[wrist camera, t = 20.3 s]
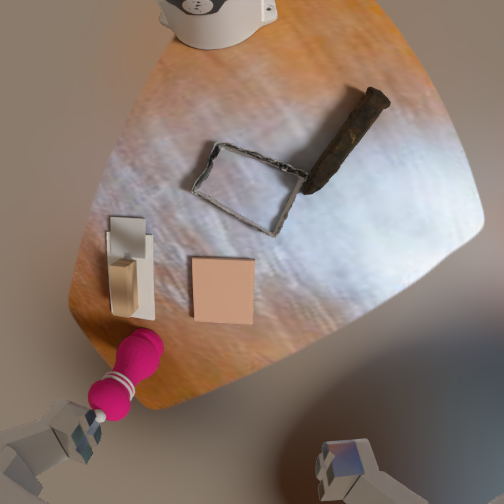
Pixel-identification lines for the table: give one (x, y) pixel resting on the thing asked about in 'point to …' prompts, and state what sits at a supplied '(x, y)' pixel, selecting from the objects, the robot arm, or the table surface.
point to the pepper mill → (125, 375)
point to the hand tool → (346, 139)
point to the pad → (139, 279)
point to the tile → (223, 289)
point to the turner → (126, 263)
